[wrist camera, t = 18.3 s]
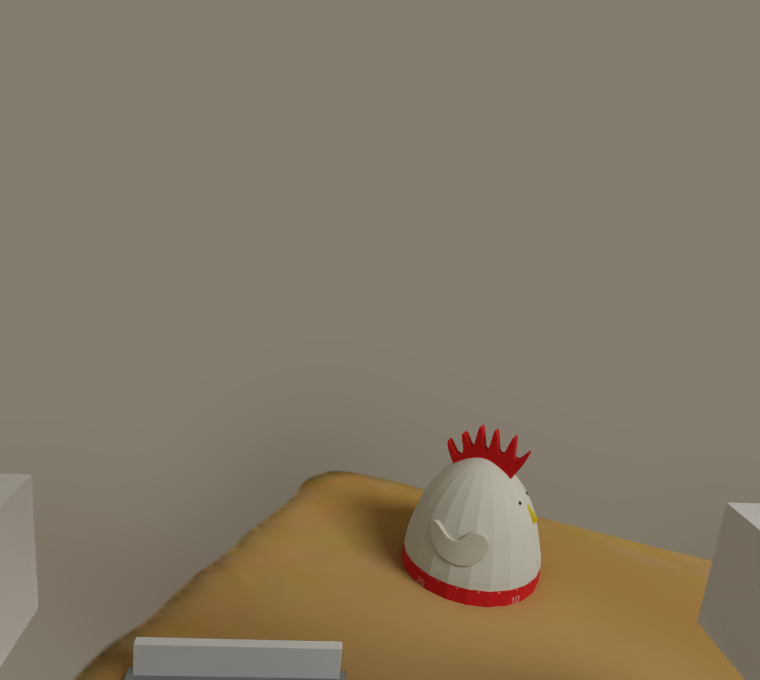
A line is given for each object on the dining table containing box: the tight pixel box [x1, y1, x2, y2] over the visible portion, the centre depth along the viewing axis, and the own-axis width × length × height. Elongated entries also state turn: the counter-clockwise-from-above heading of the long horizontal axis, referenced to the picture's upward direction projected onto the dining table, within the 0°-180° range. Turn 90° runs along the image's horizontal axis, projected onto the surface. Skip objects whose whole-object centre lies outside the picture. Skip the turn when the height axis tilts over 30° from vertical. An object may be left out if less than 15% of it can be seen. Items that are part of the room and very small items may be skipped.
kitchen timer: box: [402, 425, 541, 607], centre depth 65 cm, size 14×14×15 cm
